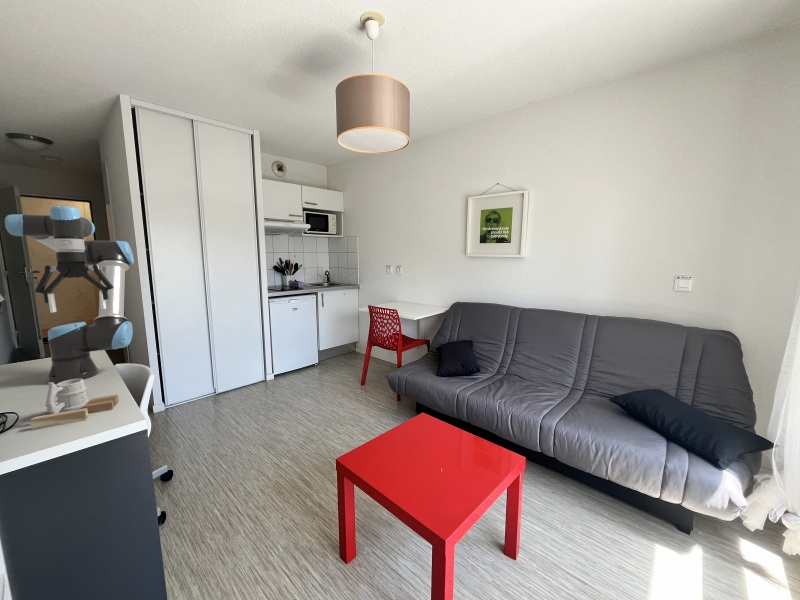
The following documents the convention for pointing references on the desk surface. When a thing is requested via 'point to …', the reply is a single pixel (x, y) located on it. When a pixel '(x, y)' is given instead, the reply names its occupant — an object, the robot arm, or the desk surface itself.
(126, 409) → the desk surface
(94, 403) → the slab
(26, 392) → the desk surface
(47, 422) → the rail
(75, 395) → the mug
